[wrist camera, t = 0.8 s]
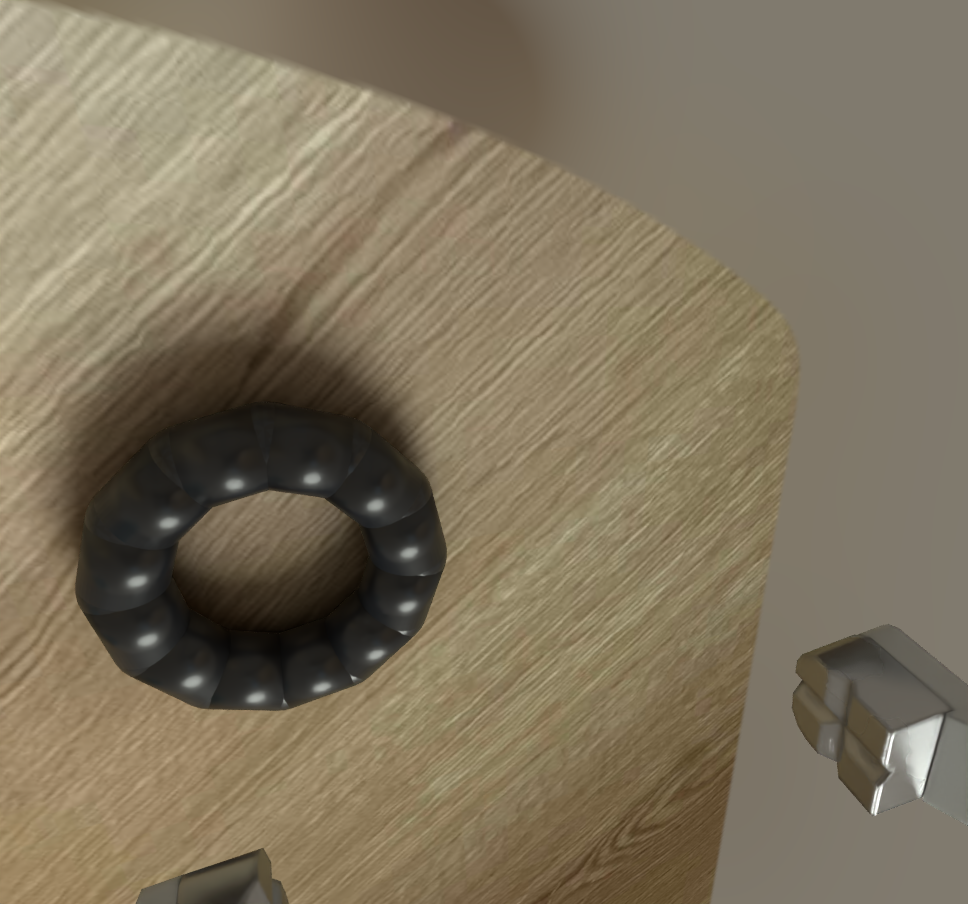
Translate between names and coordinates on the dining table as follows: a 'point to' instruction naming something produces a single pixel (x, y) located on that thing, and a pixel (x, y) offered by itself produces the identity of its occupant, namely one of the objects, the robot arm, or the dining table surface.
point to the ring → (231, 476)
